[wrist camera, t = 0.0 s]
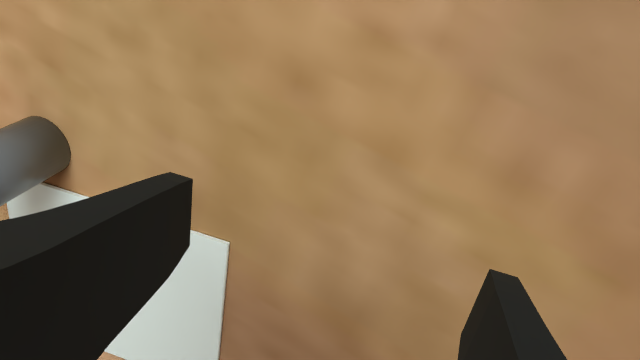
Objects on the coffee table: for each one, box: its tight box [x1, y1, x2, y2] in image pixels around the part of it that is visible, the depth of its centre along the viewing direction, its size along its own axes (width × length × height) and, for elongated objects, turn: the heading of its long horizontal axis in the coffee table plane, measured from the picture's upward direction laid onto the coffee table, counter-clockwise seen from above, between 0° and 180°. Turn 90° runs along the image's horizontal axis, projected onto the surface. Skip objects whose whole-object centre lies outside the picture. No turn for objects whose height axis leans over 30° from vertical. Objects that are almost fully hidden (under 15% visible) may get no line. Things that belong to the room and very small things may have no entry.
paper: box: [7, 182, 230, 360], centre depth 30 cm, size 12×14×1 cm
